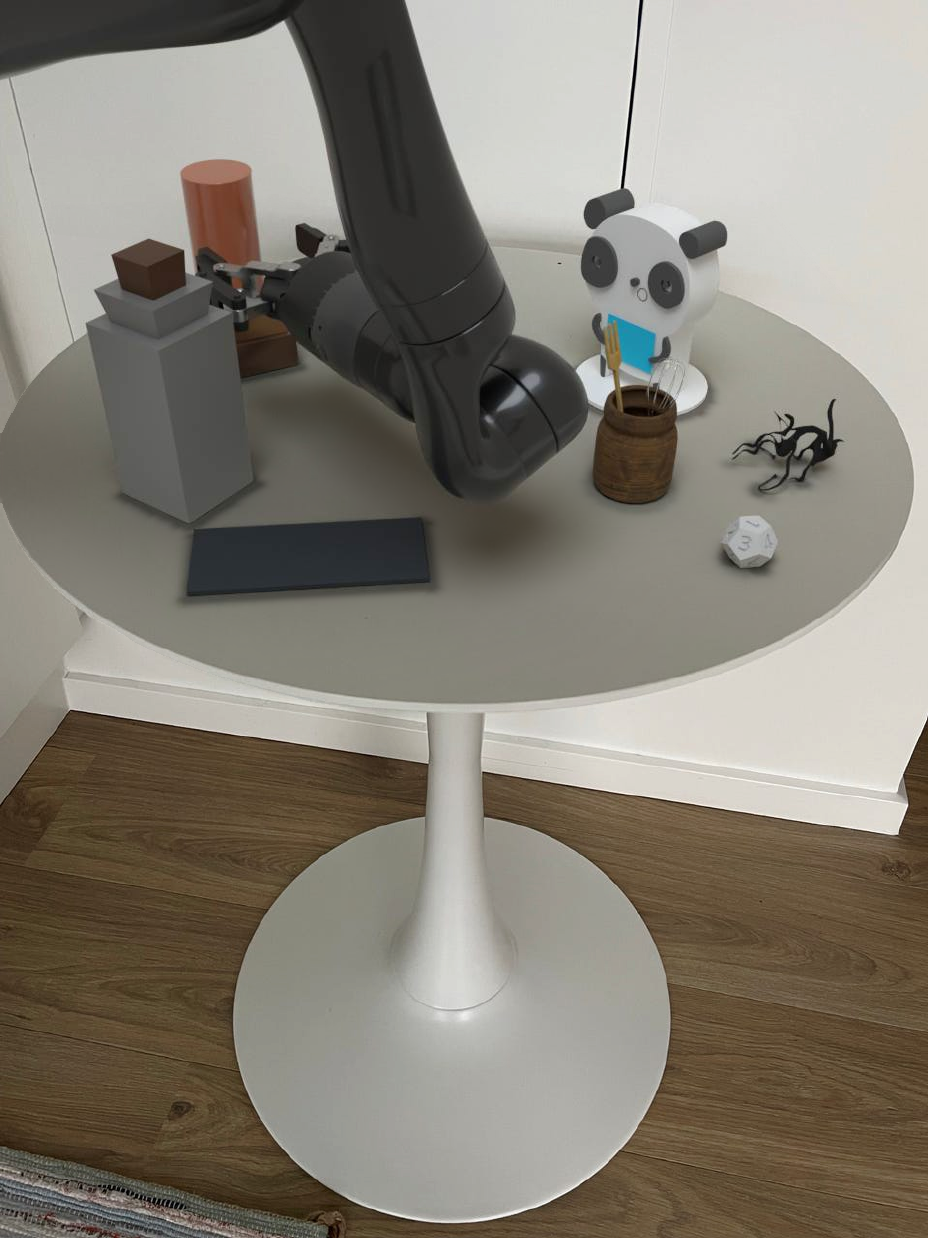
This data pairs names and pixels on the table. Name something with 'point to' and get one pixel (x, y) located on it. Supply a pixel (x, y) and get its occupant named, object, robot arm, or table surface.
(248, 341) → the block stack
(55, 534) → the table surface
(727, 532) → the game die
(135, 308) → the perfume bottle
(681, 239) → the panda figurine
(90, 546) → the table surface
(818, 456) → the creature
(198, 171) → the canister
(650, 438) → the utensil holder
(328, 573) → the mat
